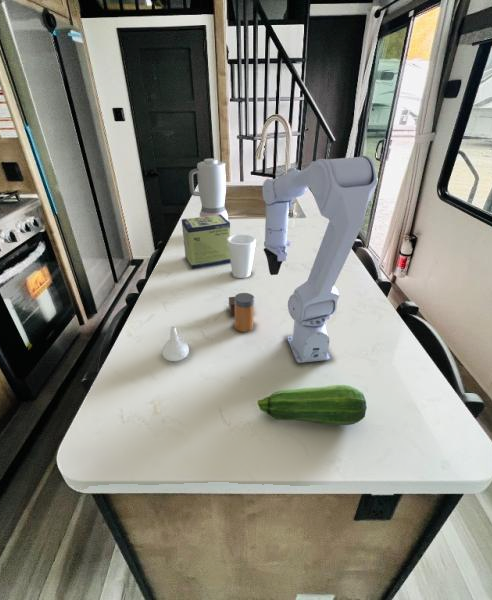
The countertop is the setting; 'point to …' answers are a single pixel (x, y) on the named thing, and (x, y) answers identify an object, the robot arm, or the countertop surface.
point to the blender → (210, 187)
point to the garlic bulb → (175, 347)
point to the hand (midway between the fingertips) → (273, 273)
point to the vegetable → (317, 405)
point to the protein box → (206, 240)
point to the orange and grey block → (244, 311)
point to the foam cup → (241, 254)
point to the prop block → (232, 306)
